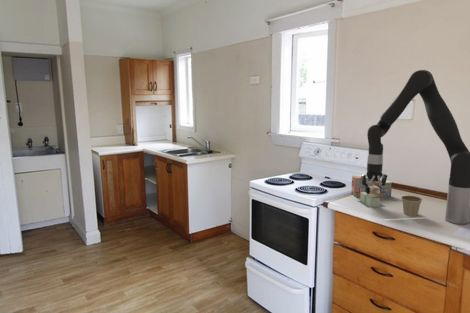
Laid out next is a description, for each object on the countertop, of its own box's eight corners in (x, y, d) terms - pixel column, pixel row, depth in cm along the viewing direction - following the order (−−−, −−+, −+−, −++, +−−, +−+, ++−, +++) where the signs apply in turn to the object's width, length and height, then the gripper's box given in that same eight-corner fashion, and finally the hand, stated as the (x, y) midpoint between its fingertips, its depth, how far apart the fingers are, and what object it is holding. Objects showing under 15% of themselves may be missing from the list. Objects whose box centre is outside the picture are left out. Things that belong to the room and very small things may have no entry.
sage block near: (374, 203, 184) (374, 195, 183) (379, 206, 179) (379, 197, 178) (365, 204, 183) (366, 195, 182) (370, 207, 178) (370, 198, 177)
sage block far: (368, 200, 190) (368, 191, 189) (372, 203, 185) (373, 194, 184) (360, 200, 190) (360, 192, 189) (364, 203, 185) (364, 194, 184)
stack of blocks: (387, 195, 203) (388, 175, 201) (391, 198, 197) (392, 177, 195) (351, 194, 204) (352, 174, 202) (353, 197, 198) (355, 177, 196)
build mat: (374, 201, 191) (374, 200, 190) (385, 207, 179) (385, 206, 179) (357, 201, 189) (357, 200, 189) (367, 208, 178) (368, 207, 178)
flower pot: (409, 219, 162) (411, 201, 160) (395, 212, 171) (396, 196, 169) (425, 217, 164) (427, 200, 163) (410, 210, 173) (412, 194, 172)
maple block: (374, 194, 183) (375, 185, 182) (379, 197, 178) (380, 187, 177) (366, 194, 182) (366, 186, 181) (370, 197, 177) (371, 188, 176)
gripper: (365, 164, 173) (363, 195, 175) (391, 163, 174) (389, 194, 177) (358, 161, 180) (357, 192, 183) (384, 160, 181) (382, 191, 184)
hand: (373, 193), depth 180 cm, fingers open, 5 cm apart
